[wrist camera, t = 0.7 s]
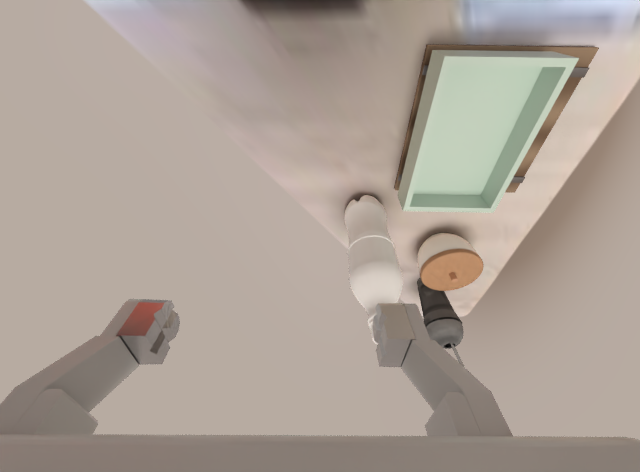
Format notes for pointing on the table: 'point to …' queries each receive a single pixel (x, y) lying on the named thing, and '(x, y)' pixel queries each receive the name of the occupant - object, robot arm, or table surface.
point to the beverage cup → (440, 318)
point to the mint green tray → (477, 125)
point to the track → (577, 73)
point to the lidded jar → (448, 262)
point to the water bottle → (371, 256)
